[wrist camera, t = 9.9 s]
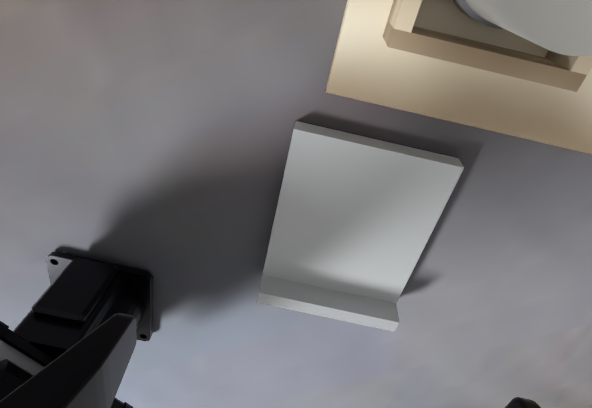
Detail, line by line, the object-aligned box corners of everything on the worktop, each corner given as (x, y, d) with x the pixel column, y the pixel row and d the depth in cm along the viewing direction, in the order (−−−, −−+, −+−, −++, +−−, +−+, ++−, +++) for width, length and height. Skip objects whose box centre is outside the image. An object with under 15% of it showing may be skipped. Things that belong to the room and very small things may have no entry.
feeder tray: (389, 300, 24) (394, 331, 22) (263, 272, 24) (256, 302, 22) (458, 158, 19) (472, 183, 17) (295, 120, 19) (290, 141, 17)
